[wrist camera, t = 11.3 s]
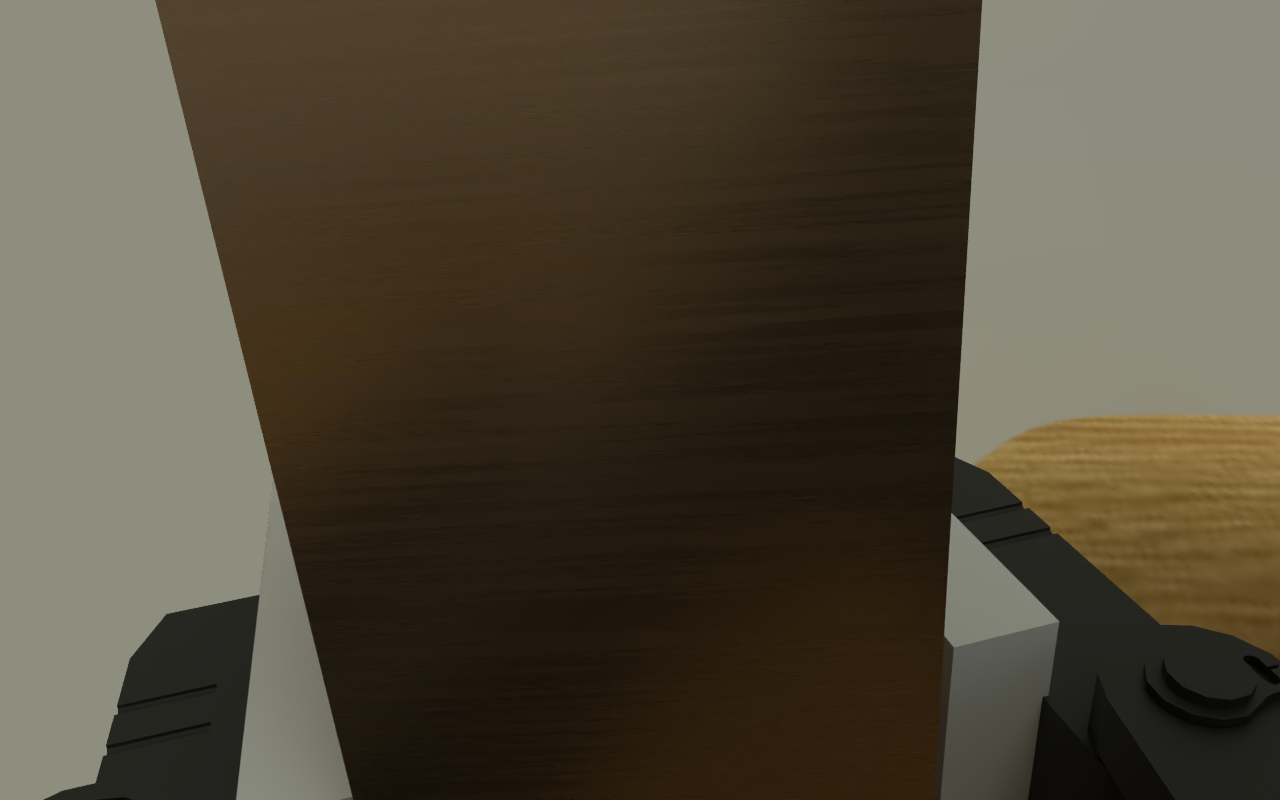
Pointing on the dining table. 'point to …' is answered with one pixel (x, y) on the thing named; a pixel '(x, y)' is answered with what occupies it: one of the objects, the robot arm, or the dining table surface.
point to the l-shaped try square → (604, 376)
